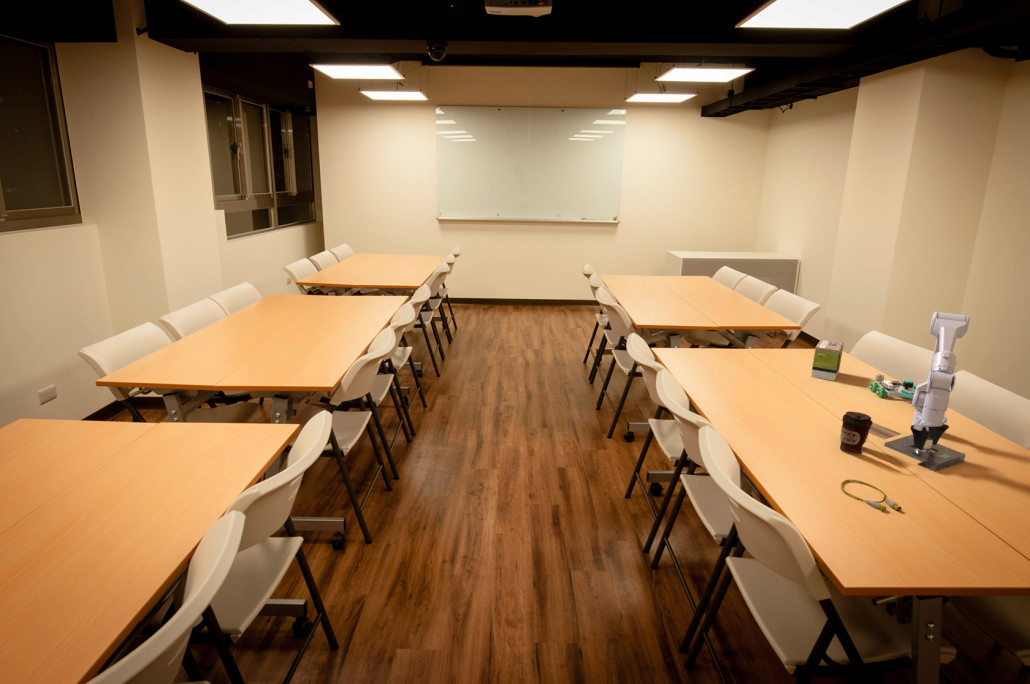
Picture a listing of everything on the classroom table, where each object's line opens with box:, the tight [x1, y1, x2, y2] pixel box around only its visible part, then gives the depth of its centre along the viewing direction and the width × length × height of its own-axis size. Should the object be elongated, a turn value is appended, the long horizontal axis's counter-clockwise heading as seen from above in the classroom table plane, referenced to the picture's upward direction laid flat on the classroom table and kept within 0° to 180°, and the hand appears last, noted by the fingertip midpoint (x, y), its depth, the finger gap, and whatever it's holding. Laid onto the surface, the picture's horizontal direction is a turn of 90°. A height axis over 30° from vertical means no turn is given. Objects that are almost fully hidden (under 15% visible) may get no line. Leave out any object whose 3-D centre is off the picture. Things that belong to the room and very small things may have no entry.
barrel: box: [914, 437, 933, 454], centre depth 181 cm, size 4×4×6 cm
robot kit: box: [868, 373, 926, 400], centre depth 228 cm, size 19×25×9 cm
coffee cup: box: [839, 411, 874, 456], centre depth 182 cm, size 9×8×13 cm
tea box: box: [810, 339, 844, 382], centre depth 255 cm, size 15×10×15 cm, turn 144°
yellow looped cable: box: [840, 479, 902, 513], centre depth 158 cm, size 12×16×2 cm
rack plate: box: [883, 433, 966, 473], centre depth 181 cm, size 16×16×3 cm
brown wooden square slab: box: [868, 422, 902, 440], centre depth 196 cm, size 10×10×2 cm
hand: (925, 446), depth 181 cm, fingers open, 7 cm apart
